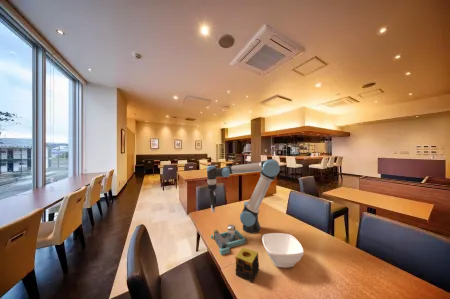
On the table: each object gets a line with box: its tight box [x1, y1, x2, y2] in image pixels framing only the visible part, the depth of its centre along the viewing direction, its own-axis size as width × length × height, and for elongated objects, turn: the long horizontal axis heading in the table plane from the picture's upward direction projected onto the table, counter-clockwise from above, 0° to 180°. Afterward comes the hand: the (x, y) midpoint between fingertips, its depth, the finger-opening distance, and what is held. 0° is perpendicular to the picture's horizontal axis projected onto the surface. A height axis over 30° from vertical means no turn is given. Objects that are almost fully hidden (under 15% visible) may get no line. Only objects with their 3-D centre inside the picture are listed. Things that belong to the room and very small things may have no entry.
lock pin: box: [213, 229, 226, 249], centre depth 112 cm, size 3×17×7 cm, turn 23°
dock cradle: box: [210, 229, 247, 256], centre depth 115 cm, size 21×23×3 cm
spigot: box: [226, 224, 237, 242], centre depth 117 cm, size 6×6×10 cm
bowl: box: [261, 232, 305, 268], centre depth 93 cm, size 22×22×12 cm
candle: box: [234, 247, 260, 283], centre depth 85 cm, size 10×10×10 cm
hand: (213, 211), depth 130 cm, fingers closed
